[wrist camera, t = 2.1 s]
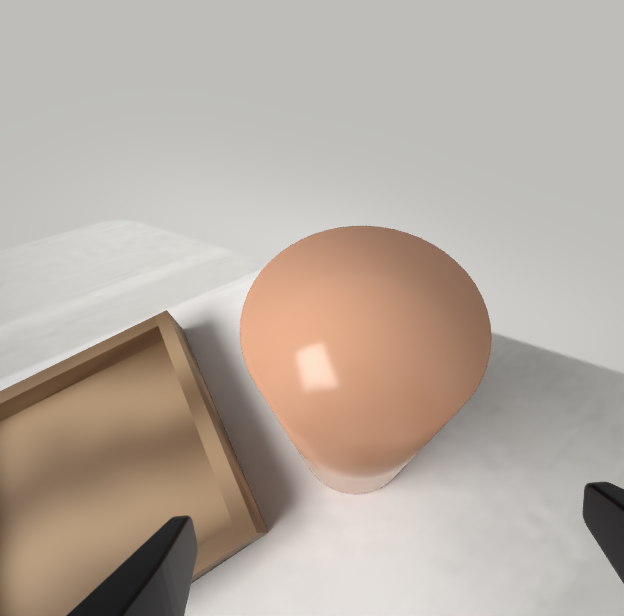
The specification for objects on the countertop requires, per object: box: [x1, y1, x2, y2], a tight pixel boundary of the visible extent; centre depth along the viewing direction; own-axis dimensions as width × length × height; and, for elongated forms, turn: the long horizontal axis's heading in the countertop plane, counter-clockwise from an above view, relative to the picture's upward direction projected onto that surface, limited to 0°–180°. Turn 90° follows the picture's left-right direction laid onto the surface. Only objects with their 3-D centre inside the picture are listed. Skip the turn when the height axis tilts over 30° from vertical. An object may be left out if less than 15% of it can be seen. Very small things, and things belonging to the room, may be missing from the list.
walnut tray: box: [0, 310, 268, 616], centre depth 18 cm, size 14×14×2 cm
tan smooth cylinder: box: [240, 226, 491, 494], centre depth 14 cm, size 6×6×13 cm
